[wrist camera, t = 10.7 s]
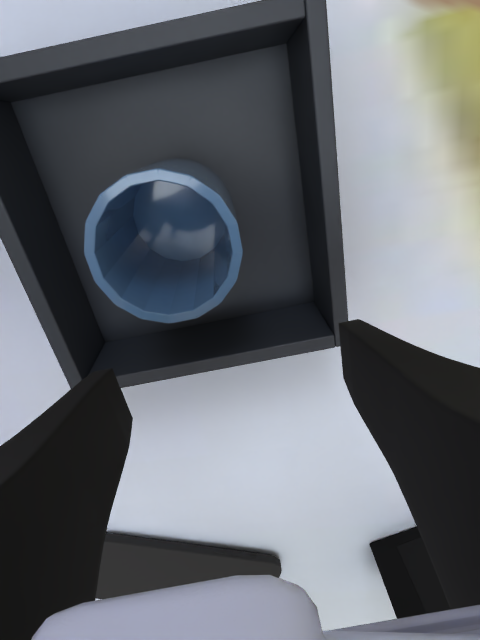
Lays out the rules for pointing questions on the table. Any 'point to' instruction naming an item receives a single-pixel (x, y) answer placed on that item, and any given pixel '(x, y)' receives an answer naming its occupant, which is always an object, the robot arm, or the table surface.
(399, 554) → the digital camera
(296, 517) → the table surface
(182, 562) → the phone
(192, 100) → the tub
